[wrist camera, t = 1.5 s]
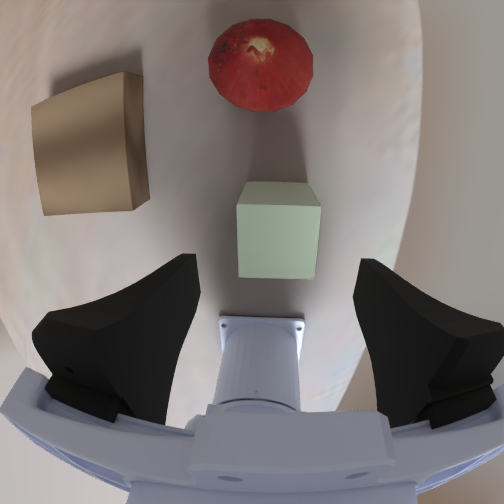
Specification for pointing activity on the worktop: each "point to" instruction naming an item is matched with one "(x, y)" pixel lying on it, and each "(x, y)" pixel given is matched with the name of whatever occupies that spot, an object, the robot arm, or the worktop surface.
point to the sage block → (277, 230)
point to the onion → (261, 65)
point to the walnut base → (92, 147)
